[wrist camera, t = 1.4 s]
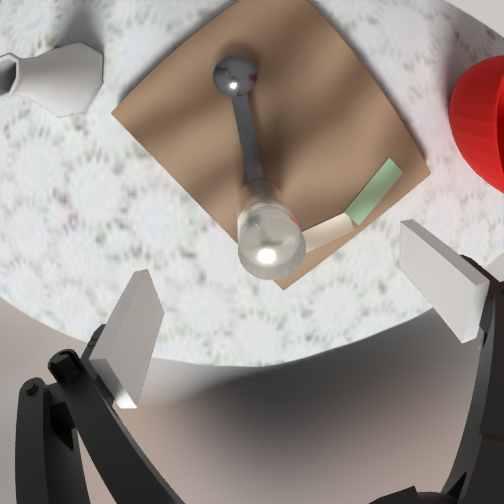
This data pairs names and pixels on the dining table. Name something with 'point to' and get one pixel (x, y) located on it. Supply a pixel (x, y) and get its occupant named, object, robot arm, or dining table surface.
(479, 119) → the ceramic cup
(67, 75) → the flask
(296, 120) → the board
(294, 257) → the metal crank handle
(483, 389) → the robot arm
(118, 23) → the dining table surface
